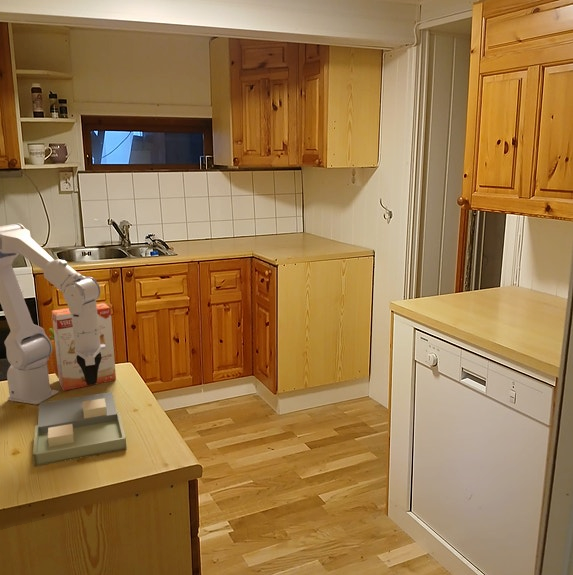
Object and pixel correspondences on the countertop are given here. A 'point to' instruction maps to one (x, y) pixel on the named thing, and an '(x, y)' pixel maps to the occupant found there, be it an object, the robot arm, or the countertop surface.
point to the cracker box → (65, 346)
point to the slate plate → (73, 412)
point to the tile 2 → (94, 408)
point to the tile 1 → (60, 435)
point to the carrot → (53, 354)
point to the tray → (81, 443)
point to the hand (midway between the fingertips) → (91, 383)
